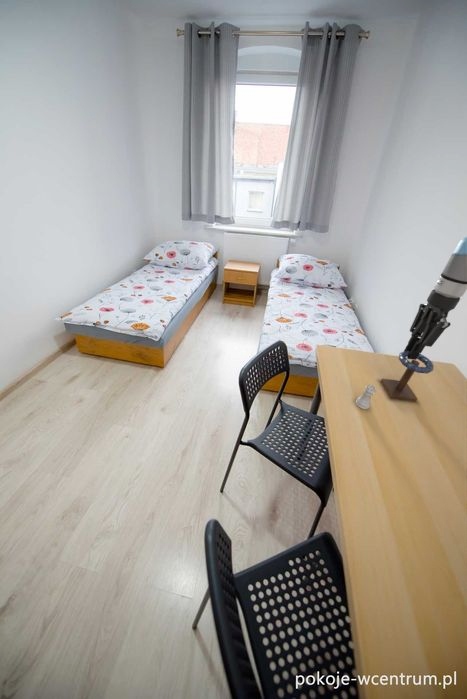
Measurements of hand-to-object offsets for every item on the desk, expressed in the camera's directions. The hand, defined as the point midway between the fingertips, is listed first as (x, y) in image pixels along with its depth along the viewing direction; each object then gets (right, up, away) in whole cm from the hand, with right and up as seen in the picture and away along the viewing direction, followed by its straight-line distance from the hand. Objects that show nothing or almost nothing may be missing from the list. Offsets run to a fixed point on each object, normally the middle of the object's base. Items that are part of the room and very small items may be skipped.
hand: (409, 355), depth 96 cm
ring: (0, -2, -4) cm, 4 cm away
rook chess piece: (-18, -16, -3) cm, 25 cm away
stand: (-2, -13, +4) cm, 14 cm away
